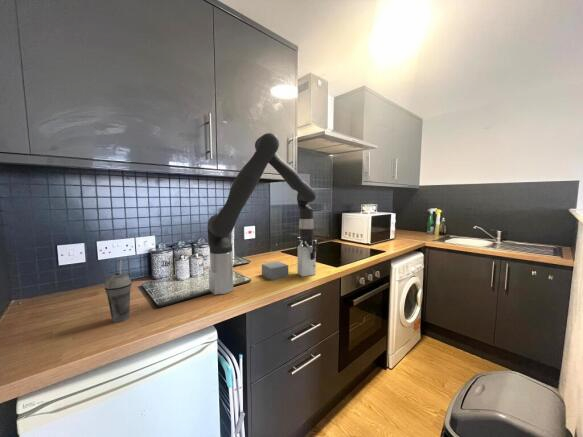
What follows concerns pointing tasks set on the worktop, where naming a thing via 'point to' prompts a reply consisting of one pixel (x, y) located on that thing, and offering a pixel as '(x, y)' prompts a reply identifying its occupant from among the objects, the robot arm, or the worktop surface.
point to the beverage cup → (118, 295)
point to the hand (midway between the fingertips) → (306, 258)
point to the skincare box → (305, 262)
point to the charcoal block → (274, 270)
